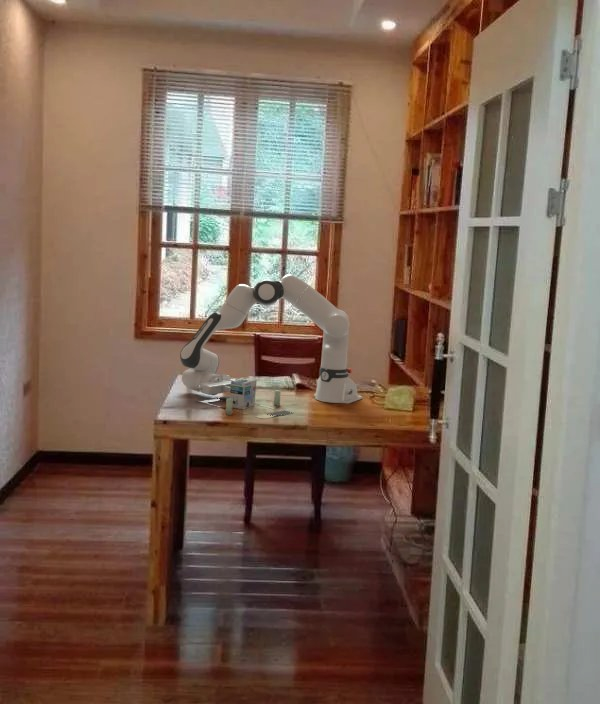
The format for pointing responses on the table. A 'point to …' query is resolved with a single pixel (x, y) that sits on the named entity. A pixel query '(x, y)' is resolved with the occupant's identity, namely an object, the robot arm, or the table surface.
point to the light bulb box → (243, 392)
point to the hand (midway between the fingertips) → (235, 390)
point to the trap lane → (276, 402)
